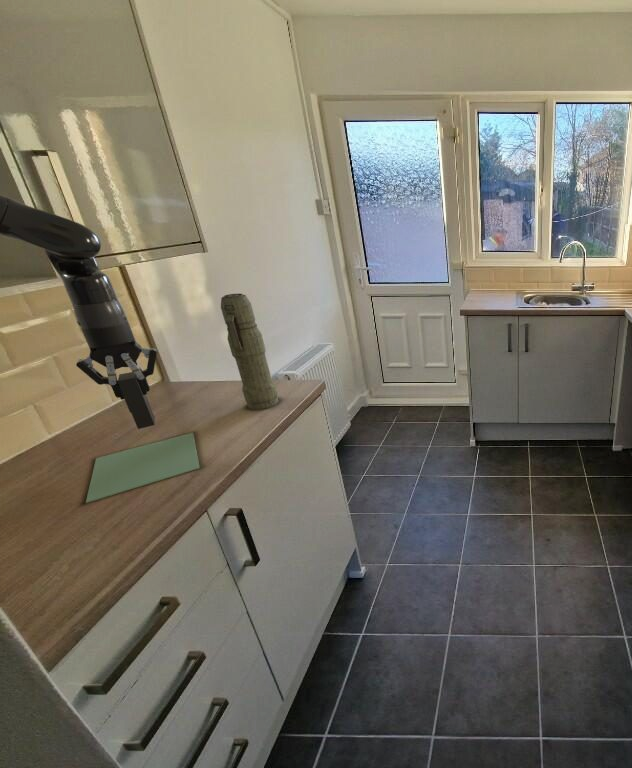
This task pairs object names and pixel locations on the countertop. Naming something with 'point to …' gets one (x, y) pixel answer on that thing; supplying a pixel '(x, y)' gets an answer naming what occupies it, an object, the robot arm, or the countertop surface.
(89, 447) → the countertop surface
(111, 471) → the mat
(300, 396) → the countertop surface
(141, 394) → the dark grey tall block
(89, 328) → the robot arm
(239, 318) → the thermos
